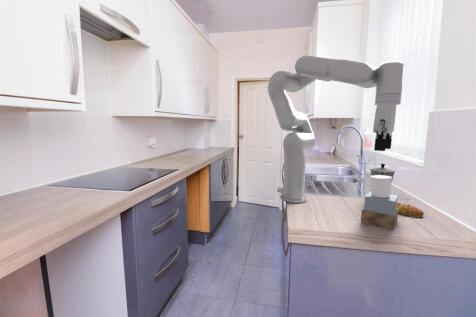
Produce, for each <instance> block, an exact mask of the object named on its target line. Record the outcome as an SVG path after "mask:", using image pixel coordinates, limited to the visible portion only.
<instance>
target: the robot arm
mask: <svg viewBox="0 0 476 317" xmlns="http://www.w3.org/2000/svg"><path fill="white" fill-rule="evenodd" d="M294 69H295V73H293V72H290V71H286V70H279V71H276V72H273V74H272V75H271V76H270V78H269V80H268V85H267V92H268V96H269V99H270V102H271V103H272V106H273V110H274V113H275V116H276V118H277V120H278V121H277V122H278V125H279V127H280V128H281V130H283V131H286V132H290V133H288V134H286V136H284V138H283V141H282V146H283V148H282V149H283V153H284V154H283V156H284V159H283V160H284V163H283V164H284V168H283V169H284V170H283V171H284V172H283V188H282V187H277V189H276V192H277V193H280V195H279V198H280V200H282V201H283V202H287V203H293V204H302V203H305V202H307V201H308V197H307V196H306V195H305V181H306V180H305V178H306V157H305V152H306V153H307V152H309V151H311V150H313V148H314V147H315V145H316V138H315V137H316V136H315V133H314V131H313V129H312V126H311V123H310V120H309V118H308V116H307V115H306V114H305V113H304V112H302V111H298V110H296V109H295V108H294V106H293V103H292V100H291V98H290V97H289V95H288V94H287V92H288V93H297V92H299V91H301V90H303V89H305V88H306V87H307V86H309V85H310V84H312V83H313V82H315V81H316V80H318V81H322V82H323V81H324V82H329V83H330V81H332V82H333V81H334V82H340V83H344V84H349V85H354V86H358V87H360V88H364V89H371V88H376V89H375V98H374V105H375V106H376V108H375V113H374V122H373V126H372V132H373V133H374V134H375V140H374V147H373V149H374V151H376V152H385V151H386V150H390V149H391V148H392V139H393V138H392V137H393V136H392V135H393V134H392V133H393V132H394V130H395V124H396V116H397V115H396V114H397V105H401V100H402V92H403V82H404V73H405V64H404V62H403V61H398V60H397V61H396V60H393V61H386V62H383V63H381V64H380V65H379V66H373V65H371V64H369V63H367V62H365V61H364V62H363V61H356V60H350V59H349V60H348V59H342V58H341V59H338V58H337V59H336V58H327V57H319V56H311V55H304V56H303V55H302V56H301V57H298V59H297V60H296V62H295V64H294Z"/></svg>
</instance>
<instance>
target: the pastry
mask: <svg viewBox="0 0 476 317" xmlns="http://www.w3.org/2000/svg"><path fill="white" fill-rule="evenodd" d="M397 208H398V215H399V214H401V215H404V216H408V217H413V218H422V217H424V214H425V212H424V211H423V210H421V209H419V208H417V207H416V206H413V205H410V204H406V203H401V202H397Z"/></svg>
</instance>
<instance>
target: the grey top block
mask: <svg viewBox="0 0 476 317" xmlns="http://www.w3.org/2000/svg"><path fill="white" fill-rule="evenodd" d="M398 199H399V195H398V194H391V193H390V197H388V198H379V197H374V196H372V194H371V190H370V191H368V192H367V194H366V195H365V196H364V203H363V204H364V205H363V208H364V210H367V211H372V212H377V213H382V214H387V215H392V216H394V214H395V211H396V209H397V203H398Z"/></svg>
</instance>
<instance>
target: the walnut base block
mask: <svg viewBox="0 0 476 317" xmlns="http://www.w3.org/2000/svg"><path fill="white" fill-rule="evenodd" d="M398 218H399V213H398V208H397V209H396V211H395V214H394V216H392V215H387V214H382V213H377V212H372V211H367V210H364V207H363V208H362V209H361V215H360V223H362V224H365V225H369V226H375V227H379V228H382V229H386V230H391V231H394V229H395V228H396V225H397V222H398Z"/></svg>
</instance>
